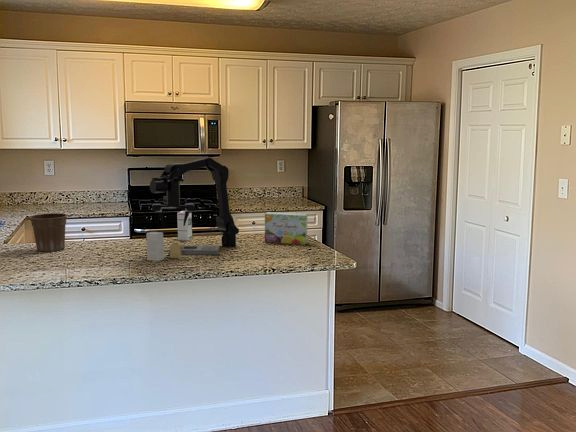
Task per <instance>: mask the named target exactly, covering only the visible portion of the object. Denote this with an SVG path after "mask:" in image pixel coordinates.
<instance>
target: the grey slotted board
mask: <svg viewBox="0 0 576 432" xmlns="http://www.w3.org/2000/svg"><path fill="white" fill-rule="evenodd" d="M220 248H221V247H220V244H219V245H216V244H215V245H210V244H209V245H208V244H207V245H203V244H202V245H201V244H200V245H197V244H196V245H193V244H192V245H191V244H190V245H187V244H186V245H183V244H182V256H183V255H190V256H191V255H193V256H194V255H199V256H200V255H201V256H202V255H203V256H207V255H214V256H216V255H217V256H218V254H219V253H220V250H221V249H220ZM168 255H169V256H170V249H169V250H168Z"/></svg>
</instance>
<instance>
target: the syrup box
mask: <svg viewBox="0 0 576 432" xmlns="http://www.w3.org/2000/svg"><path fill="white" fill-rule="evenodd" d="M184 214H185V210H181V211H178V212H177V214H176V215H177V216H176V218H177V241H189V240H192V239H193V221H192V220H193V219H192V218H193V217H192V213H189V215H188V217H187V220H186V223H185V226H184V225H183V222H184Z"/></svg>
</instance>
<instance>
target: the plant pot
mask: <svg viewBox="0 0 576 432" xmlns="http://www.w3.org/2000/svg"><path fill="white" fill-rule="evenodd" d="M67 217H68V214H66V213H61V212H59V213H58V212H57V213H55V212H52V213H38V214H34V215H30V216H29V219H30V222H31V227H32V229H33V234H34V240H35V247H36V251H37V252H39V253H40V252H41V253H42V252H43V253H54V252H59V251H61V250H64V249H65V248H66V246H65V245H66V243H65V242H66V224H67Z"/></svg>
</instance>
